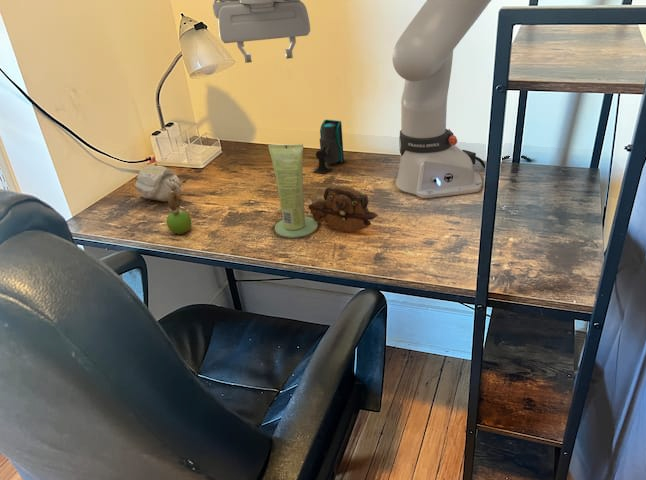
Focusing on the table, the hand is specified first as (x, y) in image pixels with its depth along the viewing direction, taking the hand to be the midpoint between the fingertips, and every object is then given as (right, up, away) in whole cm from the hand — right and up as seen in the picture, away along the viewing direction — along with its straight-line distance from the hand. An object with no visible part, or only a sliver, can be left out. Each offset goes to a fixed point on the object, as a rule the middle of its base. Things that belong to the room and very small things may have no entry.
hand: (268, 60), depth 123 cm
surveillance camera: (+12, -19, +31) cm, 38 cm away
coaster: (+6, -38, +1) cm, 39 cm away
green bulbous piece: (-21, -39, +2) cm, 45 cm away
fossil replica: (-31, -29, +19) cm, 47 cm away
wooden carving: (+17, -39, -1) cm, 43 cm away
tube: (+6, -38, +1) cm, 39 cm away
